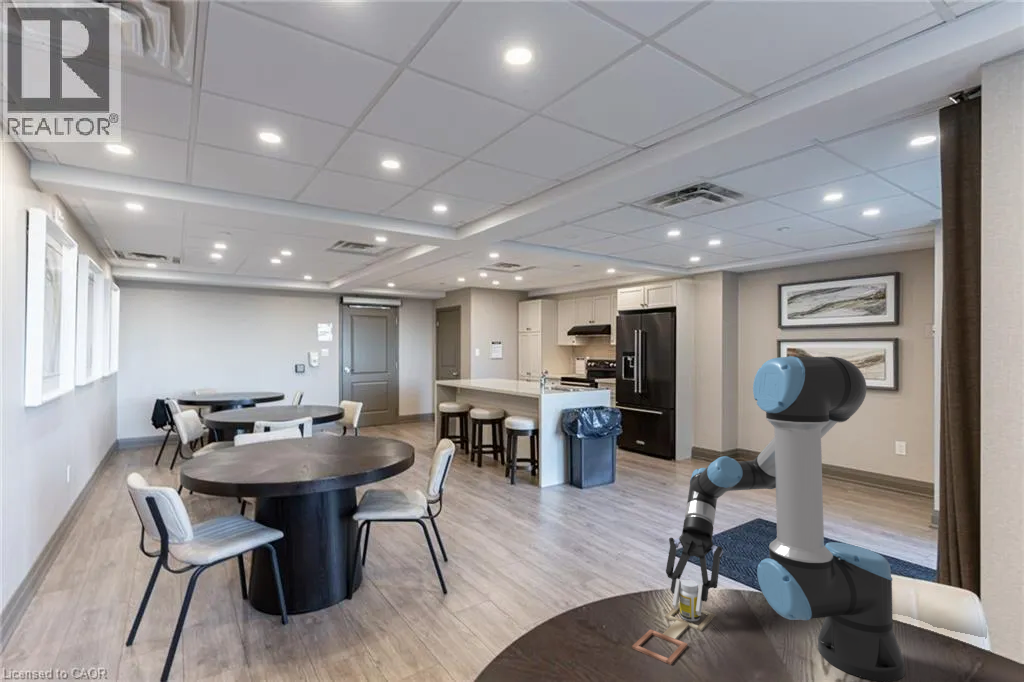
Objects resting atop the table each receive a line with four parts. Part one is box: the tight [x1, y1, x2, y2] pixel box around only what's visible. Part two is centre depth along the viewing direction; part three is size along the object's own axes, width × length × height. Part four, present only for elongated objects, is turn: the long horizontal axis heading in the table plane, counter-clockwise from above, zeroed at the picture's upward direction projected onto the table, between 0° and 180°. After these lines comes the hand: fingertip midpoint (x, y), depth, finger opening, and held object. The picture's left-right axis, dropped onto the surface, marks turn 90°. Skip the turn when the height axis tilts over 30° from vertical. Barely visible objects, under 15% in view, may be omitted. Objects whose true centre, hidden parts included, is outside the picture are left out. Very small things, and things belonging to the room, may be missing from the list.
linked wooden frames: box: [631, 602, 716, 666], centre depth 116 cm, size 9×26×1 cm, turn 138°
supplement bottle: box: [679, 579, 701, 622], centre depth 123 cm, size 5×5×8 cm
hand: (686, 610), depth 120 cm, fingers closed on supplement bottle, 5 cm apart
